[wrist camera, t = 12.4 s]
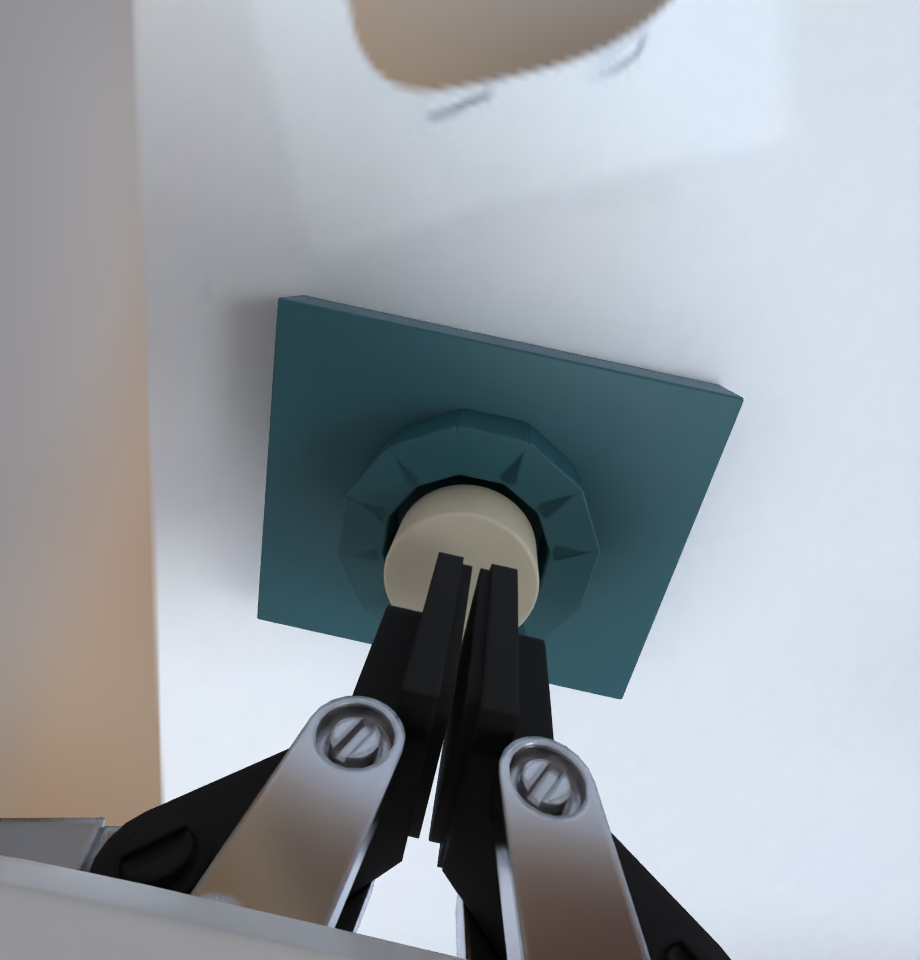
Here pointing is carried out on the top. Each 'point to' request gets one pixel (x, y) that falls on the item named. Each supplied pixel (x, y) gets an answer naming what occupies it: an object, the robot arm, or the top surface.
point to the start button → (461, 544)
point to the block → (480, 474)
